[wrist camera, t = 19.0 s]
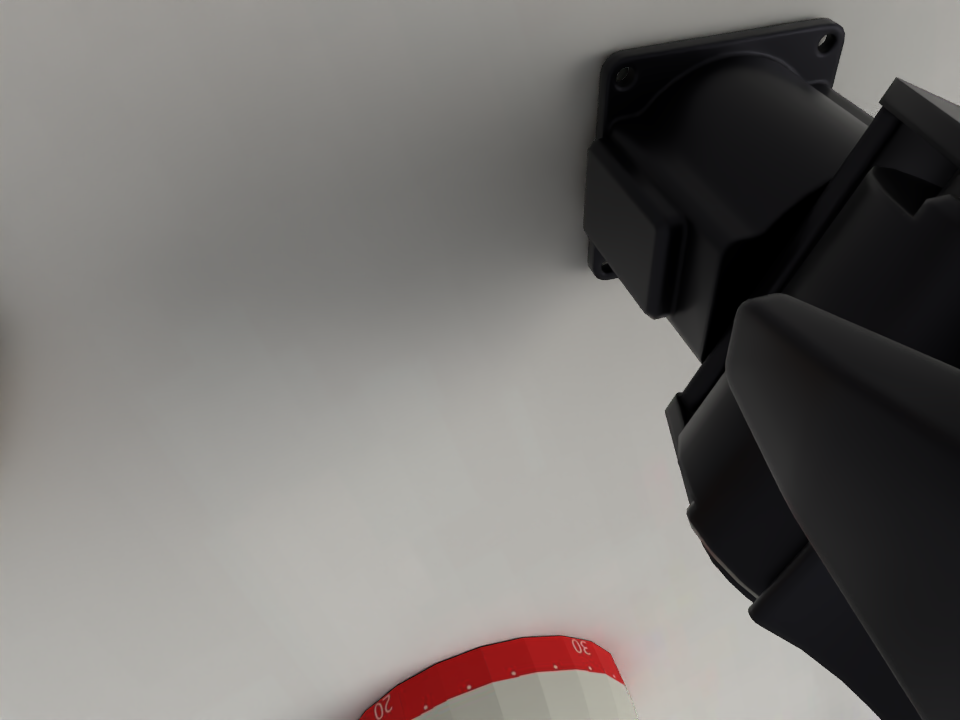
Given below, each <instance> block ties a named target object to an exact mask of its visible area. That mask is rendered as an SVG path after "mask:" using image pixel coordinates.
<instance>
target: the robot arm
mask: <svg viewBox="0 0 960 720" xmlns="http://www.w3.org/2000/svg"><path fill="white" fill-rule="evenodd" d="M825 35H827V37H826V39H825V41H824V42H823V43H822V44H821V45H820V46H818V44H819V42H820V40H821V39H822V38H823V37H824V36H825ZM844 37H845V32H844V30H843V27H841V26H840V25H839V24H837V23H835V22H834V21H832V20H830V19H829V18H819V19H813V20H807V21H801V22H795V23H788V24H782V25H776V26H770V27H764V28H757V29H751V30H745V31H739V32H733V33H727V34H720V35H714V36H708V37H702V38H696V39H690V40H683V41H677V42H671V43H665V44H659V45H653V46H646V47H640V48H634V49H628V50H622V51H618V52H616V53H613V54H612V55H611V56H609V57H608V58H607V59H606V61H605V62H604V64H603V65H602V68H601V72H600V80H599V95H598V111H597V126H596V139H595V140H594V141H593V142H592V144H591V145H590V147H589V149H588V154H587V171H586V188H585V205H584V221H583V229H584V231H585V233H586V234H587V235H588V237H589V247H588V266H589V268H590V269H591V271H592V272H593V274H594V275H595V276H596V277H597V278H598V279H601V280H610V279H614V278H619V279H620V280H621V282H622V283H623V285H624V286H625V287H626V289H627V290H628V291H629V293H630V294H631V295H632V297H633V298H634V300H635V301H636V302H637V304H638V305H639V306H640V308H641V309H642V310H643V312H644V313H645V314H647V315H648V316H649V317H651V318H652V319H654V320H655V319H659V318H663V317H667V319H668V320H669V321H670V323H671V324H672V325H673V327H674V328H675V329H676V331H677V332H678V333H679V335H680V336H681V337H682V339H683V340H684V341H685V343H686V344H687V345H688V346H689V348H690V349H691V350H692V352H693V353H694V354H695V356H696V357H697V358H698V360H699V361H700V362H701V364H702V365H701V367H700V368H699V370H698V371H697V372H696V374H695V375H694V377H693V378H692V380H691V381H690V382H689V384H688V385H687V387H686V388H685V390H684V391H683V392H678V393H677V394H676V395H675V397H674V398H673V399H672V401H671V402H670V404H669V405H668V407H667V408H666V410H665V414H666V418H667V422H668V425H669V429H670V433H671V436H672V440H673V444H674V448H675V451H676V455H677V459H678V464H679V467H680V470H681V474H682V478H683V481H684V485H685V489H686V493H687V496H688V500H689V504H690V506H689V507H688V508H687V517H688V520H689V522H690V525H691V528H692V529H693V531H694V532H695V533H696V535H697V536H698V537H699V539H700V540H701V542H702V545H703V547H704V548H705V550H706V552H707V553H708V555H709V556H710V559H711V561H712V562H713V564H714V565H715V566H716V567H717V568H718V569H719V570H720V571H721V573H722V574H723V575H724V576H725V577H726V578H727V580H728V581H729V582H730V583H731V584H732V585H733V586H734V587H736V588H737V589H738V590H739V591H740V592H741V593H742V594H743V595H744V596H745V597H746V598H748V599H749V600H750V601H752V602H753V604H752V605H751V606H750V607H749V609H748V612H749V615H750V617H751V618H752V620H753V621H754V622H755V623H757V624H758V625H760V626H762V627H763V628H765V629H767V630H769V631H770V632H772V633H774V634H775V635H777V636H779V637H781V638H782V639H784V640H786V641H788V642H789V643H791V644H793V645H795V646H796V647H798V648H800V649H801V650H803V651H804V652H805V653H807V654H808V655H809V656H810V657H812V658H813V659H814V660H816V661H817V662H818V663H819V664H821V665H822V666H823V667H825V668H826V669H827V670H829V671H830V672H831V673H832V674H834V675H835V676H836V677H838V678H839V679H840V680H841V681H843V682H844V683H845V684H846V685H847V686H848V687H849V688H850V689H851V690H852V691H853V692H854V693H855V694H856V695H857V696H858V697H859V698H860V699H861V700H862V701H863V702H864V703H865V704H866V705H868V706H869V707H870V709H871V710H872V711H873V712H874V713H875V714H876V715H877V716H878V717H879V718H880V719H881V720H960V106H958V105H956V104H954V103H952V102H950V101H947V100H945V99H943V98H941V97H939V96H936V95H934V94H932V93H930V92H928V91H926V90H923V89H921V88H919V87H917V86H915V85H913V84H910V83H908V82H906V81H904V80H902V79H900V78H897V77H896V78H895V80H894V81H893V83H892V84H891V86H890V87H889V88H888V90H887V91H886V93H885V94H884V96H883V97H882V99H881V100H880V101H879V103H880V104H881V105H882V108H881V109H880V110H879V112H878V113H877V115H876V116H875V118H873V117H872V116H870V115H869V114H868V113H866V112H865V111H863V110H862V109H860V108H859V107H857V106H856V105H855V104H853V103H852V102H850V101H849V100H847V99H846V98H844V97H843V96H842V95H840V94H839V93H837V92H836V91H834V90H833V89H832V87H833V83H834V79H835V75H836V71H837V67H838V63H839V59H840V55H841V51H842V47H843V44H844ZM626 67H629V71H628V74H627V75H626V77H625V78H624V79H622V80H620V81H616V78H617V74H618V73H619V72H620V71H621V70H622V69H623V68H626ZM605 260H606V261H607V264H605V265H602V263H603V262H604V261H605Z"/></svg>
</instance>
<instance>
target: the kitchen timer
mask: <svg viewBox="0 0 960 720" xmlns="http://www.w3.org/2000/svg"><path fill="white" fill-rule="evenodd" d="M359 720H638V716H637V713H636V710H635V707H634V704H633V702H632V699H631V697H630V695H629V693H628V691H627V688H626V686H625V684H624V682H623V680H622V678H621V676H620V673H619V671H618V669H617V667H616V665H615V663H614V660H613V658H612V656H611V654H610V653H609V652H607V651H606V650H604V649H602V648H601V647H599V646H598V645H596V644H594V643H593V642H591V641H586V640H581V639H576V638H570V637H565V636H549V637H528V638H520V639H516V640H511V641H507V642H502V643H498V644H493V645H489V646H484V647H480V648H477V649H475V650H472V651H469V652H467V653H464V654H462V655H459V656H456V657H454V658H451V659H449V660H446V661H443V662H441V663H438V664H436V665H434V666H432V667H430V668H429V669H427V670H425V671H423V672H421V673H420V674H418V675H416V676H414V677H412V678H411V679H409V680H407V681H405V682H403V683H402V684H400V685H398V686H396V687H395V688H394V689H393V690H391V691H390V692H389V693H388V694H386V695H385V696H384V697H383V698H381V699H380V700H379V701H378V702H377V703H375V704H374V705H373V706H372V707H370V708H369V709H368V710H367V711H365V713H364V714H363V715H362V717H361V718H360V719H359Z"/></svg>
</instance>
